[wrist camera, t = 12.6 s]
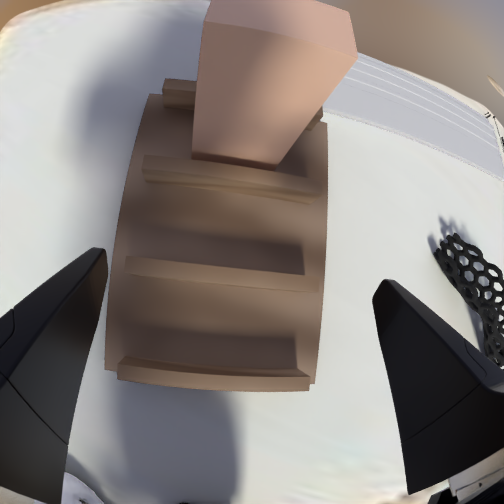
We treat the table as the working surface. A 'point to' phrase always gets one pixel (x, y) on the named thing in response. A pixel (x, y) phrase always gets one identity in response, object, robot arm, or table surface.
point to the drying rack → (217, 260)
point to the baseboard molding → (416, 113)
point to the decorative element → (475, 302)
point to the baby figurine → (76, 492)
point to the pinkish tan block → (265, 76)
